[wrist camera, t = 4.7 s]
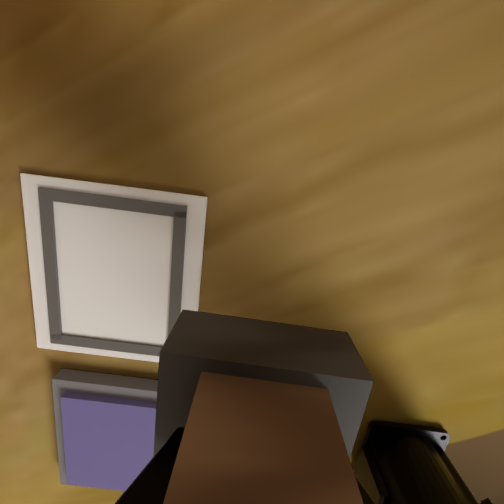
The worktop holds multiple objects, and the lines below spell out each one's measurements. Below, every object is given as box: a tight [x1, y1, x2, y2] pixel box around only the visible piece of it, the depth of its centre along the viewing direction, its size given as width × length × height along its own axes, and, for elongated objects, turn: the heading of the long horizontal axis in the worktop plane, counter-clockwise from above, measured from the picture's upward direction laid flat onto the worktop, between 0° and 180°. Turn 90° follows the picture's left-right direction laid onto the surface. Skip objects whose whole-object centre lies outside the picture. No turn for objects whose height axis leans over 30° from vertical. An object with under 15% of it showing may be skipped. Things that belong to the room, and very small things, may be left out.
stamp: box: [153, 309, 374, 504], centre depth 7 cm, size 6×4×8 cm
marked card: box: [20, 173, 207, 362], centre depth 20 cm, size 12×13×1 cm
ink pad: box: [52, 368, 158, 491], centre depth 24 cm, size 11×11×2 cm
